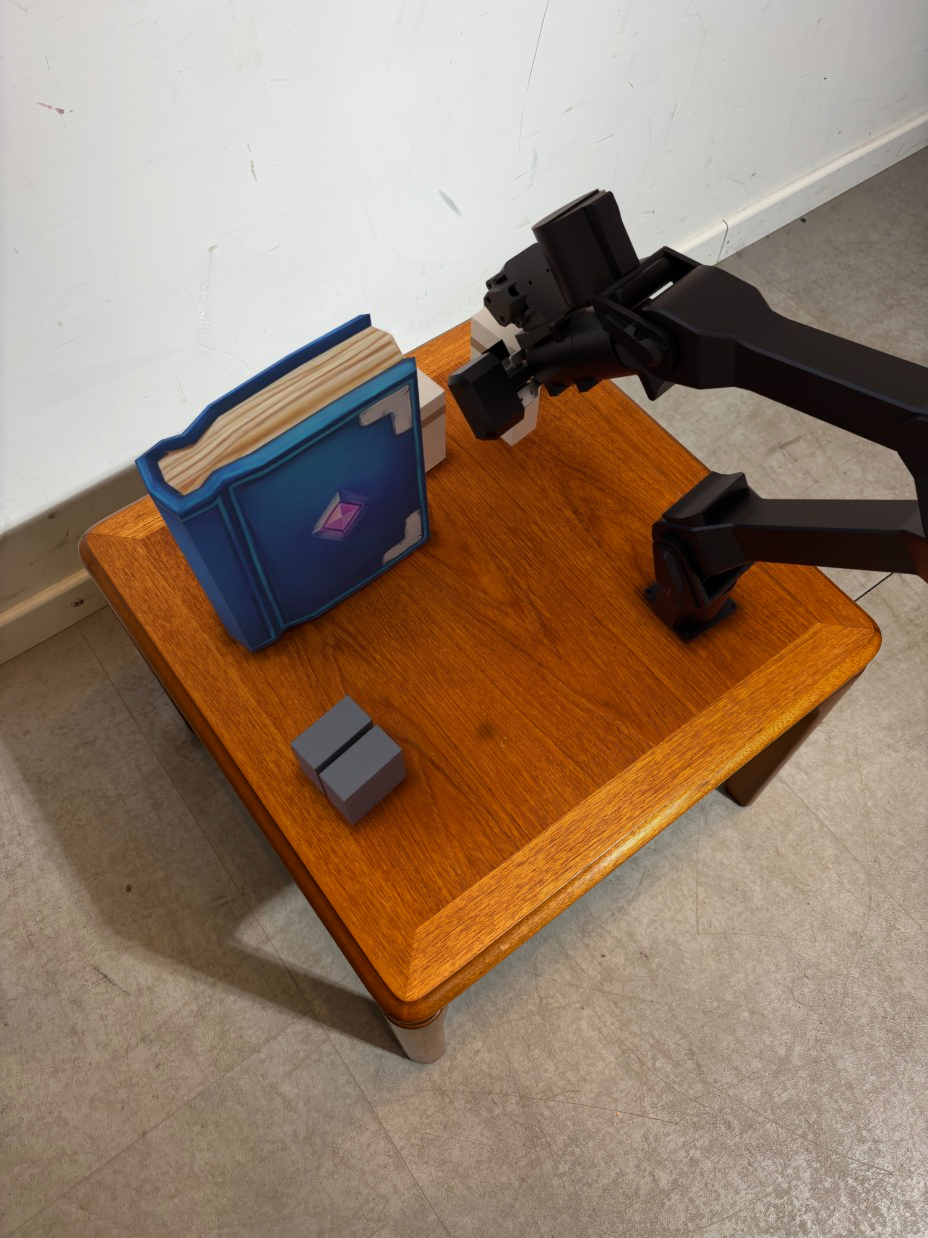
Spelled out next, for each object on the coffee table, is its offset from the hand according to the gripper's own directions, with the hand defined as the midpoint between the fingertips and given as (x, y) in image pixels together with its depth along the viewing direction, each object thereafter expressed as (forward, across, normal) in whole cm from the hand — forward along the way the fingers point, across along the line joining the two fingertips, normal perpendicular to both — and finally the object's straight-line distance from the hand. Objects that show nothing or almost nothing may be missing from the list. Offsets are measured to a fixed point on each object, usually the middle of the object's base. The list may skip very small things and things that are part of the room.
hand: (496, 364), depth 84 cm
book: (+7, +24, +8) cm, 26 cm away
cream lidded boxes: (+10, 0, +4) cm, 11 cm away
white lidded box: (+4, 0, +6) cm, 7 cm away
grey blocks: (-5, +34, +20) cm, 40 cm away
